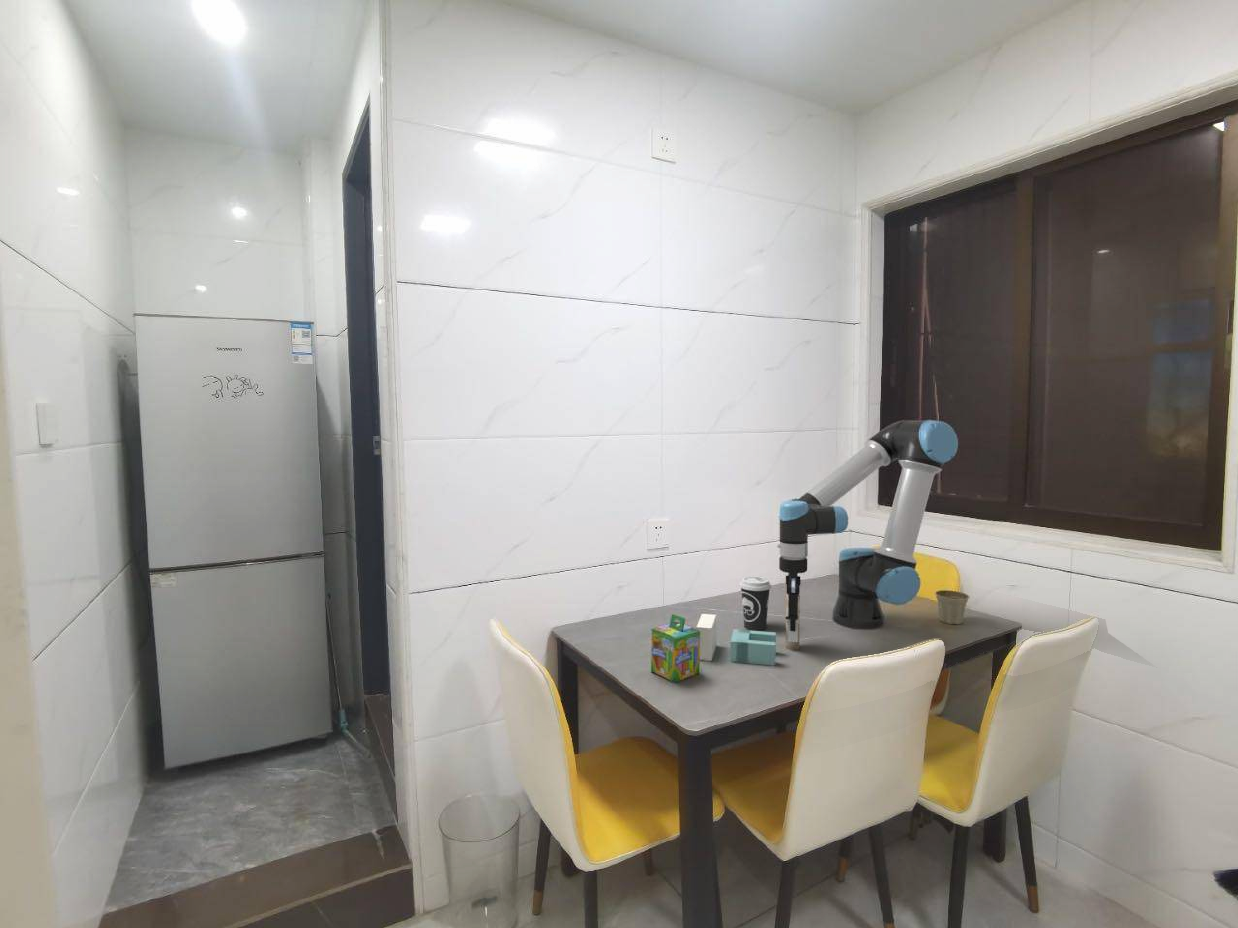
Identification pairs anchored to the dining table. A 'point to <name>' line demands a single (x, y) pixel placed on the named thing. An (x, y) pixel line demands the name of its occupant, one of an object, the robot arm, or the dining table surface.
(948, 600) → the flower pot
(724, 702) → the dining table surface
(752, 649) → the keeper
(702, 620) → the wall
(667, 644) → the chalk box
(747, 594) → the coffee cup
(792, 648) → the dowel
